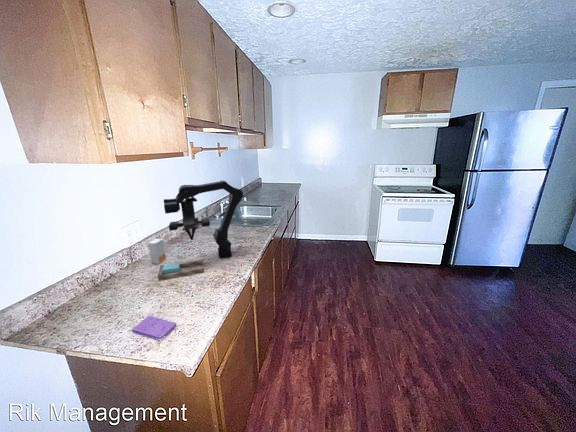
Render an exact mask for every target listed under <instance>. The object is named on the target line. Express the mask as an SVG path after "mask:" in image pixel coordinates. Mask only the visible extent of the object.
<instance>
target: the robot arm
mask: <svg viewBox="0 0 576 432" xmlns="http://www.w3.org/2000/svg"><path fill="white" fill-rule="evenodd" d="M219 190H225V191H226V192H228V202H227V203H228V204H227V206H226V209H225V212H224V215H223V217H222V219H221V224H220V225H219V228H215V229H214V232H213V234H212V235H213V240H214V241H215V243H216V244H217V246H218V247H217V253H218V257H219V259H225V258H230V257H231V258H232V257H233V255H232V242H231V241H230V240H229V239H228V235H229V232H228V231H229V227H230V225H231V224H232V223H231V222H232V219H233V217H234V214H235V211H236V208H237V206H238V204H240V202H241V201H242V199H243V198H244V191H242V189H239V188H238V187H234V186H232V185H230V183H228V182H227V181H225V180H220V181H215V182H208V183H203V184H183V185H181V186H179V187H178V193H177V195H176V196H175V198H164V199H163V207H164V213H165V214H174V213H178V212H179V211H181V215H182V222H179V221H178V220H177V221H170V222H169V224H168V229H169V231H176V230H178V229H179V228H182V231H185V232H186V233H187V235H188V236H189V238H190V240H191V241H194V237H195V232H196V230H198V229H199V225H201V226H202V227H203V228H204V227H205V228H206V227H210V225H211V223H210V218H208V217H206V218H200V220H199V217H196V213H195V212H196V211H195V206H194V202H198V199H197V198H196V196H197V195H199V194H204V193H207V192H208V193H209V192H214V191H219Z"/></svg>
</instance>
